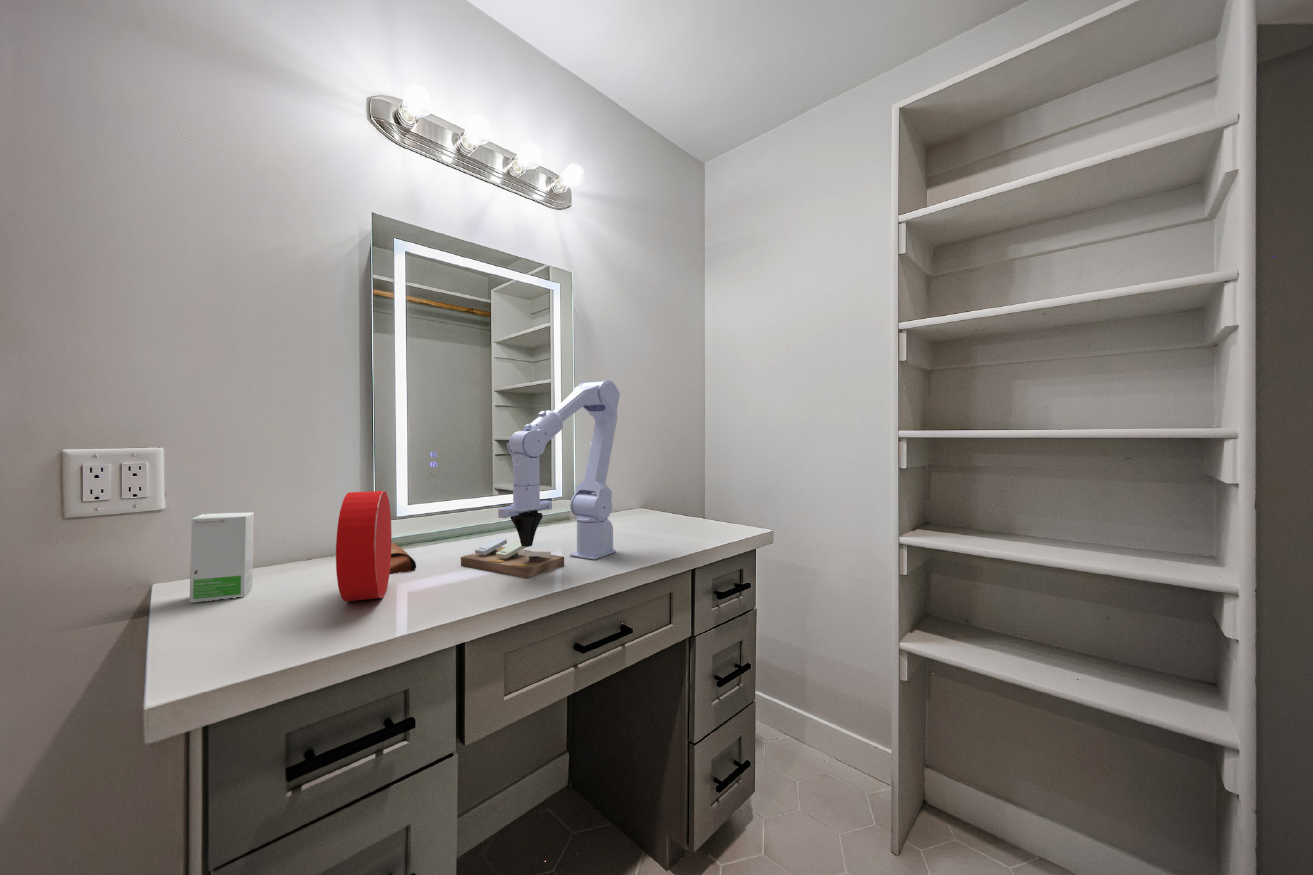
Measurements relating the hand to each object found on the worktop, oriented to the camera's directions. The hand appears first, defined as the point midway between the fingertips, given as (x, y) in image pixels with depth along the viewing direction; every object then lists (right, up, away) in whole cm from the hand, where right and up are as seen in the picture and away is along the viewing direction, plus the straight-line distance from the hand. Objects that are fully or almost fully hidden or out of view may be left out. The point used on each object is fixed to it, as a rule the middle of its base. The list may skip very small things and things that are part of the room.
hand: (526, 545), depth 112 cm
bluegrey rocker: (-11, -2, +9) cm, 14 cm away
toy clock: (-26, -6, -17) cm, 31 cm away
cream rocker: (+1, -2, +2) cm, 3 cm away
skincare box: (-54, -6, -16) cm, 57 cm away
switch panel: (-5, -6, +6) cm, 9 cm away
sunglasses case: (-34, -7, +6) cm, 35 cm away
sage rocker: (-5, -2, +6) cm, 8 cm away
